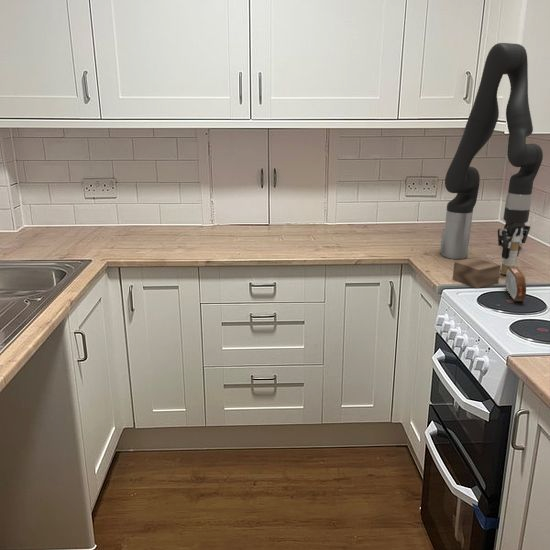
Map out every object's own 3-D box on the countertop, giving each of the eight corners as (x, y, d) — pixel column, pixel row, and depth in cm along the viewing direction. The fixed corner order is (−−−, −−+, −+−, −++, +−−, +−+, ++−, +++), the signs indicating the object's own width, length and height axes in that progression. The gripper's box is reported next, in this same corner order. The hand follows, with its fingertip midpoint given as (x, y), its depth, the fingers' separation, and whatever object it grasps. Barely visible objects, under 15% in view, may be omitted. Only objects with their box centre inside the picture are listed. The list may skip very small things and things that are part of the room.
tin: (525, 305, 159) (529, 278, 156) (513, 305, 160) (517, 277, 157) (513, 288, 173) (516, 263, 171) (502, 288, 174) (506, 262, 171)
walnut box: (452, 279, 181) (454, 261, 179) (473, 274, 186) (475, 257, 184) (477, 288, 173) (479, 270, 171) (498, 283, 178) (500, 265, 176)
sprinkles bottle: (503, 270, 189) (509, 232, 185) (516, 273, 186) (522, 234, 182) (498, 273, 186) (503, 234, 182) (511, 276, 183) (517, 237, 179)
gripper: (521, 202, 185) (514, 251, 191) (493, 206, 178) (486, 257, 184) (541, 206, 179) (533, 257, 185) (513, 211, 172) (505, 263, 178)
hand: (509, 256), depth 184 cm, fingers closed on sprinkles bottle, 4 cm apart
